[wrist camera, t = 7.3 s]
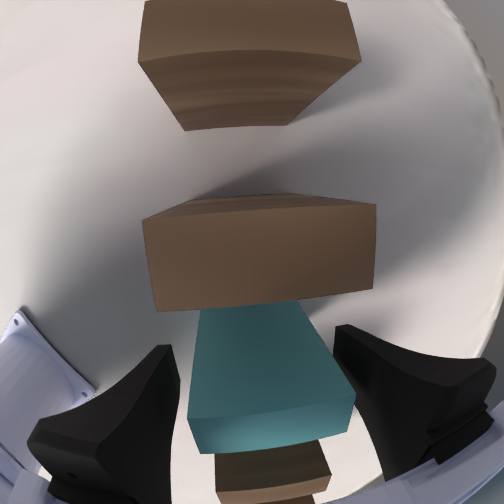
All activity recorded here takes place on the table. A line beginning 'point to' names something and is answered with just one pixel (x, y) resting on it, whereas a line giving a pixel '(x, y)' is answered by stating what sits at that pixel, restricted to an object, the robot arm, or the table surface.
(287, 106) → the domino
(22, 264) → the table surface
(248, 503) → the domino
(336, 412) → the domino
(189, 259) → the domino
